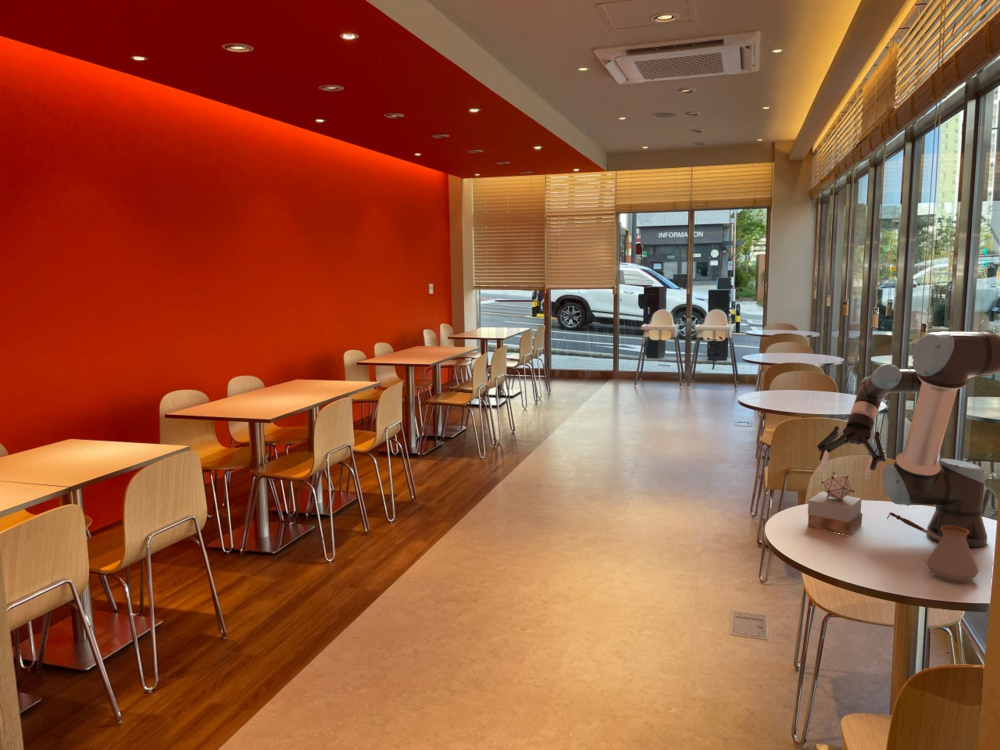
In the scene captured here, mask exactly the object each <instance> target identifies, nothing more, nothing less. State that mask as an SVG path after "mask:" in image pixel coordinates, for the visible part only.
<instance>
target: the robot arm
mask: <svg viewBox="0 0 1000 750" xmlns="http://www.w3.org/2000/svg"><path fill="white" fill-rule="evenodd" d="M911 356H912V367H913V369H911V368H907V369H905V368H904V369H903V368H899V367H898V366H896V365H893V364H891V363H883V364H881V365H879V366H878V367H877V368H876V369H874V370H873V372H872V373H871V375H869V376H865V377H863V379H862V380H861V383H860V384H859V386H858V391H857V394H856V395H855V400H854V403H853V405H852V408H851V411H850V413H849V416H848V420H847V422H846V426H845V428H840V427H839V426H838V425H836V426H835V427H834V428H833V430H832V431H831V432H830V433H829V434H828V435H827V436H826V437H825V438H824V439H823V440H822V441H820V442H819V443H818V444H817V445H816V447H817V449H818V452H820V455H819V461H820V463H819V467H818V468H819V471H820V472H821V473H824V472H825V469H826V466H827V463H828V460H829V457H830V454H829V453H831V452H832V451H834V450H836V449H837V448H839V447H841V446H843V445H846V444H848V443H849V444H856V445H858V446H860V445H862V444H863V445H862V446H864V447H865V450H866V451H867V452H868V453H869V455H870V456H871V457H869V459H868V462H867V465H866V469H865V472H864V477H865V480H866V481H869V480H870V478H871V473H872V471H875V470H877V466H878V463H879V462H886V457H885V452H884V450H883V447H882V443H881V439H882V436H881V433H880V432H879V431H876V432H872V430H873V428H874V424H875V421H876V418H877V415H878V412H879V409H880V406H881V403H882V401H883V400H884V398H886V397H887V396H888V394H893V393H894V394H896V393H897V394H901V393H902V394H903V393H905V394H906V393H907V394H908V393H909V394H910V393H911V394H912V393H913V394H914V393H916V394H917V393H918V396H917V400H916V404H915V408H914V411H913V414H912V419H911V423H910V426H909V430H908V434H907V436H906V437H907V438H906V442H905V445H904V449H903V452H901V453H899V454H897V455H896V457H895V461H894V464H887V465H885V466H884V468H883V470H882V483H883V488H884V491H885V494H886V496H887V497H888V499H889V500H890V502H892V503H893V504H895V505H899V506H901V505H902V506H907V507H909V506H935V509H934V513H933V515H932V517H931V519H930V521H929V523H928V525H927V527H926V530H927V531H929V532H931V533H933V534H936V535H938V536H940V537H942V536H943V533H942V530H941V529H940V528H941V527H942V526H958V527H962V528H965V529H967V530H968V531H969V532H970V533H969V534H968V535H967V537H966V541H967V543H968V546H969V547H978V548H982V547H981V546H983V547H985V546H987V545H988V534H987V531H986V526H985V524H984V520H983V504H984V495H985V485H986V473H985V470H984V468H982V467H981V466H980V465H977V464H975V463H971V462H967V461H964V460H958V459H952V458H941V459H939V455H940V451H941V448H942V444H943V442H944V438H945V433H946V432H947V431H946V430H947V427H948V423H949V420H950V418H951V417H950V416H951V413H952V411H953V406H954V403H955V399H956V396H957V393H958V390H960V389H962V388H964V387H965V386H966V385H967V382H968V379H972V378H974V377H983V378H984V377H989V376H993V375H996V374H998V373H1000V335H998V334H996V333H993V332H989V331H945V330H943V331H938V332H937V331H935V332H927V333H926V334H925V335H922V336H921V337H920V338H919V339H918V340H917V342H916V344H915V346H914V348H913V352H912V355H911ZM871 438H872V439H873V440H874V441H875V444H876V447H877V450H878V454H877V452H875V450H874V449H873V447H872V446H871V443H870V442H869V441H868V440H870V439H871ZM938 459H939V461H938ZM926 536H927V537H928V538H929V539H930V540H933V541H934V542H937V543H939V541H940V540H938V539H936V538H934V537H932V536H930V535H928V534H927V533H926Z"/></svg>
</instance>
